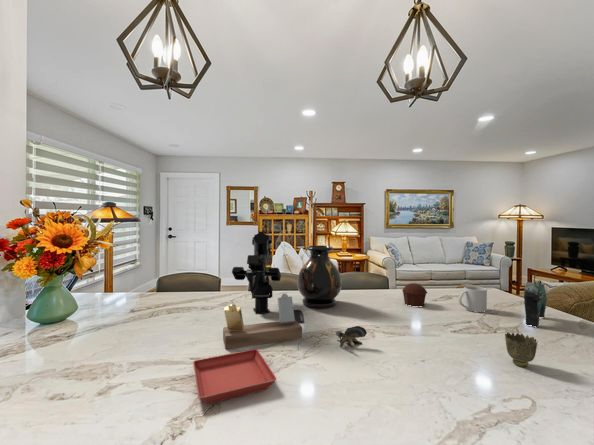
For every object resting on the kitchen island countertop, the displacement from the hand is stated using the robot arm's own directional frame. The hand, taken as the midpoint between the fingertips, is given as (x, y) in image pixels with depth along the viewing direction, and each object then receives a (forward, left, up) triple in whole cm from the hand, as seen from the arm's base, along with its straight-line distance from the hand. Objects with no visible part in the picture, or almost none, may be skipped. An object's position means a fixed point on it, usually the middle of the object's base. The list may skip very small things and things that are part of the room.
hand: (252, 292), depth 110 cm
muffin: (-6, +81, -14) cm, 82 cm away
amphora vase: (-21, +37, -14) cm, 45 cm away
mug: (+9, +101, -14) cm, 102 cm away
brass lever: (+11, -7, -9) cm, 16 cm away
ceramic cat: (+29, +111, -14) cm, 115 cm away
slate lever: (+11, +11, -9) cm, 18 cm away
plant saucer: (+34, -11, -14) cm, 38 cm away
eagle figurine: (+25, +28, -14) cm, 40 cm away
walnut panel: (+11, +2, -13) cm, 17 cm away
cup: (+52, +68, -14) cm, 86 cm away
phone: (-7, +19, -14) cm, 25 cm away
